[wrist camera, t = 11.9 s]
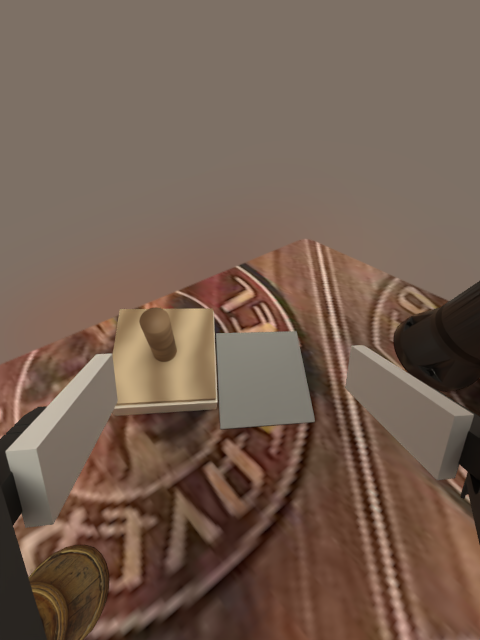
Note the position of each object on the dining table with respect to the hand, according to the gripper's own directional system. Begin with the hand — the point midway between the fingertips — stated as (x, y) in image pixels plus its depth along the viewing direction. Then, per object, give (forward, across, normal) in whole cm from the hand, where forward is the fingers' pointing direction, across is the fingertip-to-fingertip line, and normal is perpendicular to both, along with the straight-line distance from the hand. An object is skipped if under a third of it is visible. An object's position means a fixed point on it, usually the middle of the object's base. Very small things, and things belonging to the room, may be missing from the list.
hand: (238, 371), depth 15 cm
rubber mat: (+27, +8, -15) cm, 32 cm away
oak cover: (+25, -7, -10) cm, 28 cm away
